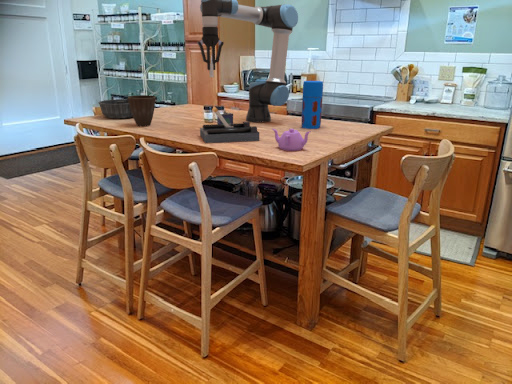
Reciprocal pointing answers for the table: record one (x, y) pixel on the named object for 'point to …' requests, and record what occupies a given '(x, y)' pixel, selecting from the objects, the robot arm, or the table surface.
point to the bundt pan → (116, 108)
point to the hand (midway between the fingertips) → (211, 77)
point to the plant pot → (142, 109)
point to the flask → (226, 118)
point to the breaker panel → (229, 133)
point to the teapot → (291, 140)
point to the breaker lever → (220, 117)
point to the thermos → (312, 104)
